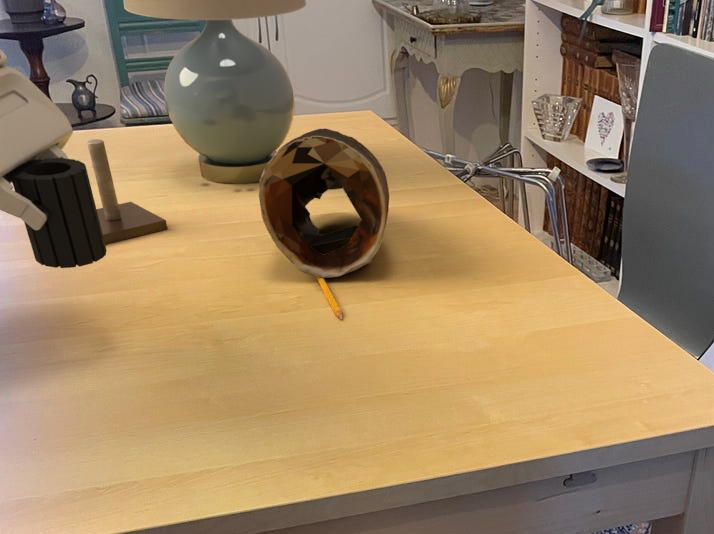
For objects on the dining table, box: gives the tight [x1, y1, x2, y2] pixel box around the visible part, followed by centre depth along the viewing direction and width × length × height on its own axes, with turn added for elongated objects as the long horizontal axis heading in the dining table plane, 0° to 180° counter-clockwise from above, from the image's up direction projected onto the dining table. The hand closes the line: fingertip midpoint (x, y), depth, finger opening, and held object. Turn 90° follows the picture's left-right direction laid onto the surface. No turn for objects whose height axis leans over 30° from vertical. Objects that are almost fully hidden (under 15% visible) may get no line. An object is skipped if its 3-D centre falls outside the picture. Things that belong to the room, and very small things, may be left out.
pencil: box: [315, 276, 343, 320], centre depth 108 cm, size 1×13×1 cm, turn 19°
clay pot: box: [258, 128, 390, 278], centre depth 118 cm, size 15×15×25 cm
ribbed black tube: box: [10, 158, 107, 269], centre depth 90 cm, size 7×7×8 cm
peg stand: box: [86, 138, 168, 245], centre depth 122 cm, size 10×10×10 cm
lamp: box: [122, 0, 307, 185], centre depth 131 cm, size 25×25×39 cm
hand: (65, 208), depth 90 cm, fingers closed on ribbed black tube, 7 cm apart
